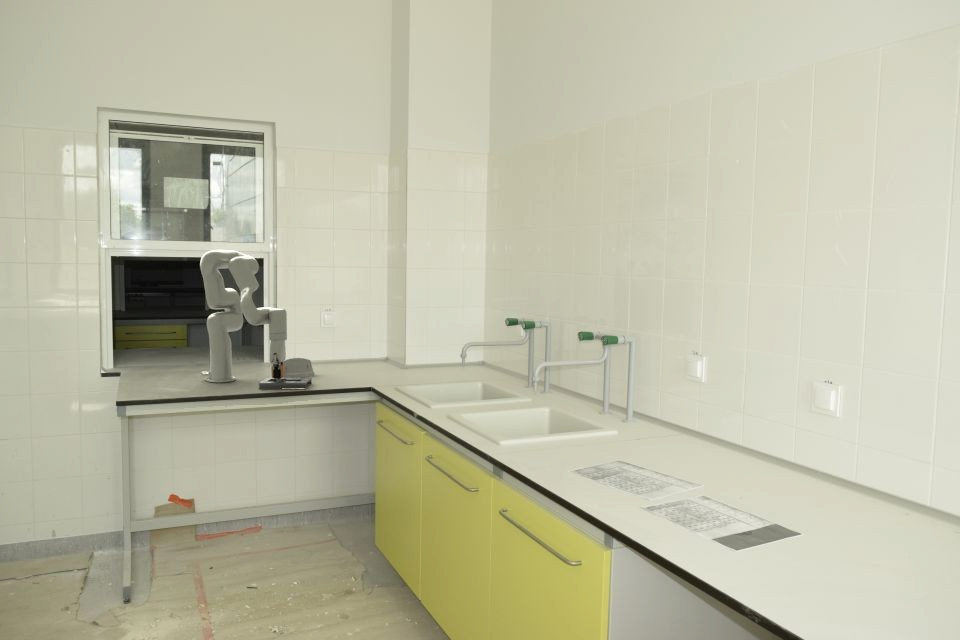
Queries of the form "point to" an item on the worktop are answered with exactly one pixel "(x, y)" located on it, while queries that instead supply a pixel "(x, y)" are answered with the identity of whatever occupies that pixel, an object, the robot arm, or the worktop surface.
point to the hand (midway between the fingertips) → (278, 376)
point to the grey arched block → (298, 368)
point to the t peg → (283, 372)
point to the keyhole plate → (284, 383)
